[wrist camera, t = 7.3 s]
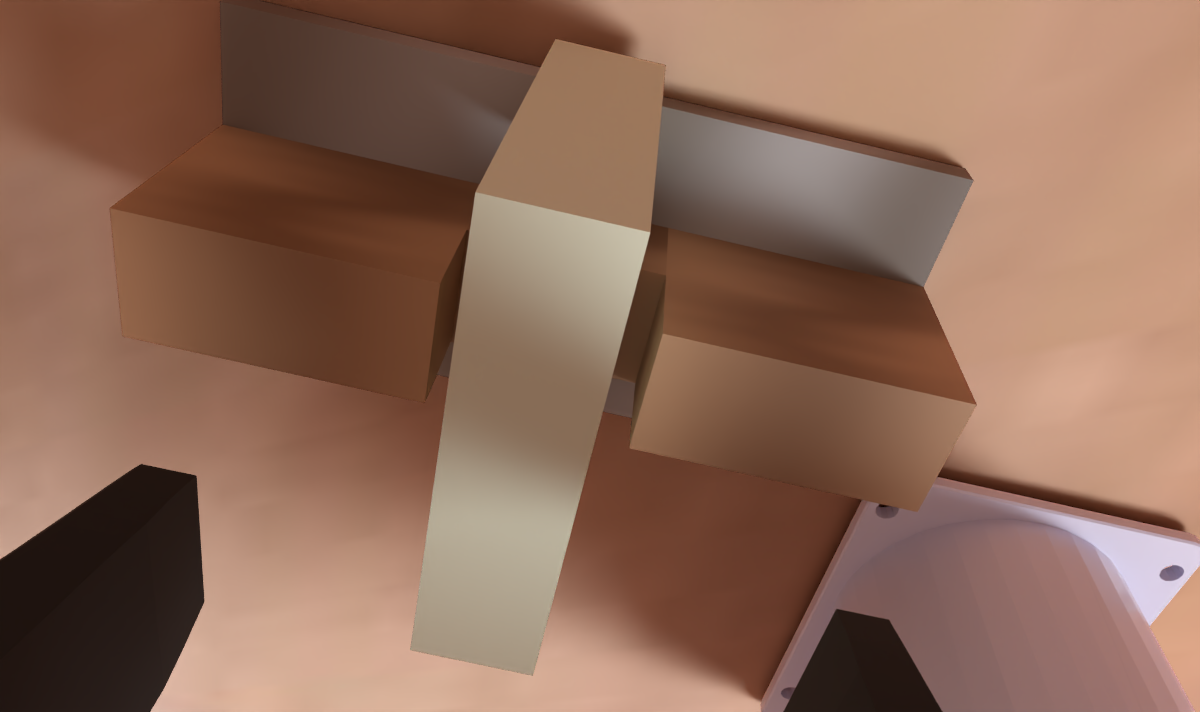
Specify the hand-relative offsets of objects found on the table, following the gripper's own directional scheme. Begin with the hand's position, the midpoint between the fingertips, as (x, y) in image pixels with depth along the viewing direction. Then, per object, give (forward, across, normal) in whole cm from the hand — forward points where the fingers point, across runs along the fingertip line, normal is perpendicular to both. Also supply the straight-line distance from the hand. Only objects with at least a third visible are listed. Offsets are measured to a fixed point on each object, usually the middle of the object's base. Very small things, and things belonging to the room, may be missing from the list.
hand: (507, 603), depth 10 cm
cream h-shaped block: (+9, 0, 0) cm, 9 cm away
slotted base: (+10, 0, 0) cm, 10 cm away
